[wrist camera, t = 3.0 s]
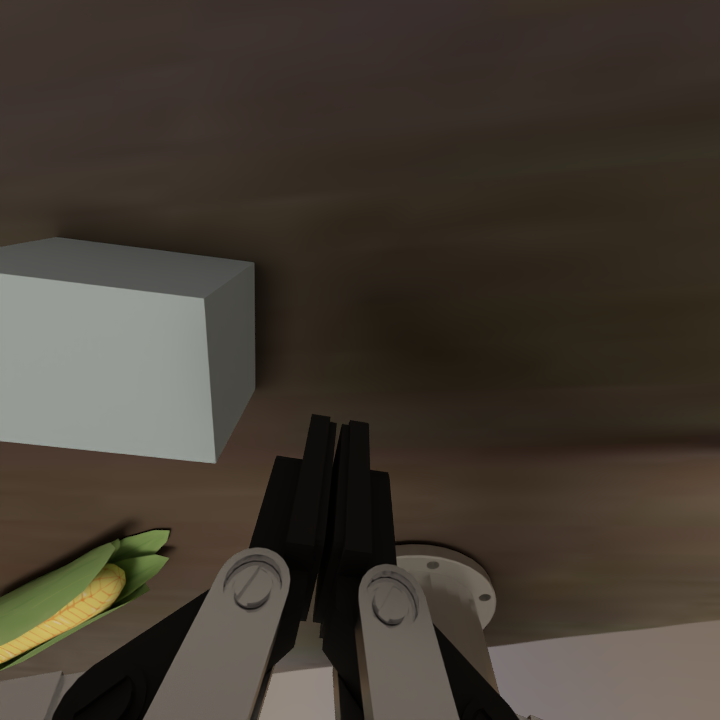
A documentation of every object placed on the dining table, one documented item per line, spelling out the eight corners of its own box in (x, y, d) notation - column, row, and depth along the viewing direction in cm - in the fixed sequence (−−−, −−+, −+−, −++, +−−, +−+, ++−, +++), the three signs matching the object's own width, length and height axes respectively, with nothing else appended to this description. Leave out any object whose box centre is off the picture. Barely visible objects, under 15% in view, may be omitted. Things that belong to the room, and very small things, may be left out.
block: (256, 388, 20) (215, 463, 15) (91, 369, 20) (-12, 439, 14) (255, 261, 17) (204, 298, 12) (59, 236, 17) (-88, 262, 11)
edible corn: (-19, 597, 30) (-80, 664, 25) (144, 502, 24) (99, 567, 20) (37, 627, 31) (-12, 693, 27) (199, 544, 26) (168, 611, 22)
